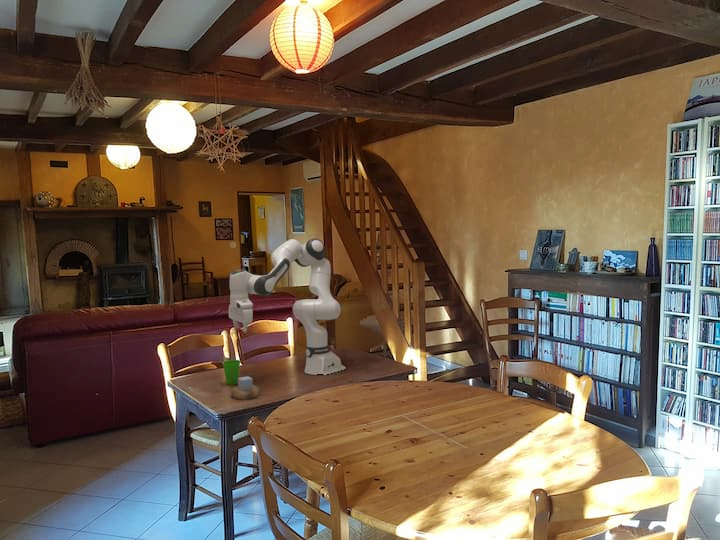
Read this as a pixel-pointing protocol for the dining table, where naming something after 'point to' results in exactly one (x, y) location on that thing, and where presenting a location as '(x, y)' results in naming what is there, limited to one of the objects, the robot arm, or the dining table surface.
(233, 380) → the cup
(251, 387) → the cube
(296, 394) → the dining table surface
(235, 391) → the trivet
